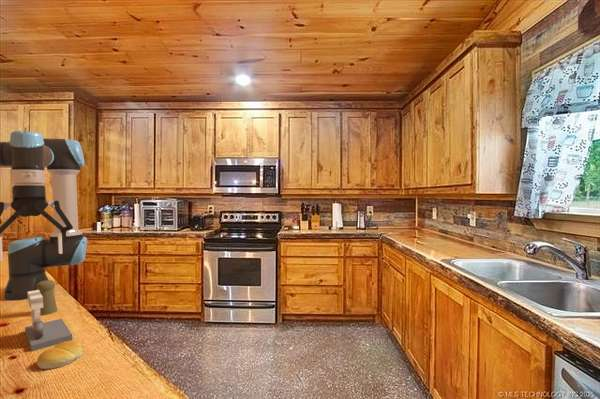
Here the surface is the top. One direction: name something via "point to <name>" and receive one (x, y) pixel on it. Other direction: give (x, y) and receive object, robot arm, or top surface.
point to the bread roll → (59, 355)
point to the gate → (36, 312)
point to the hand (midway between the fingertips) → (32, 256)
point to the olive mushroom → (47, 297)
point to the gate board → (49, 334)
